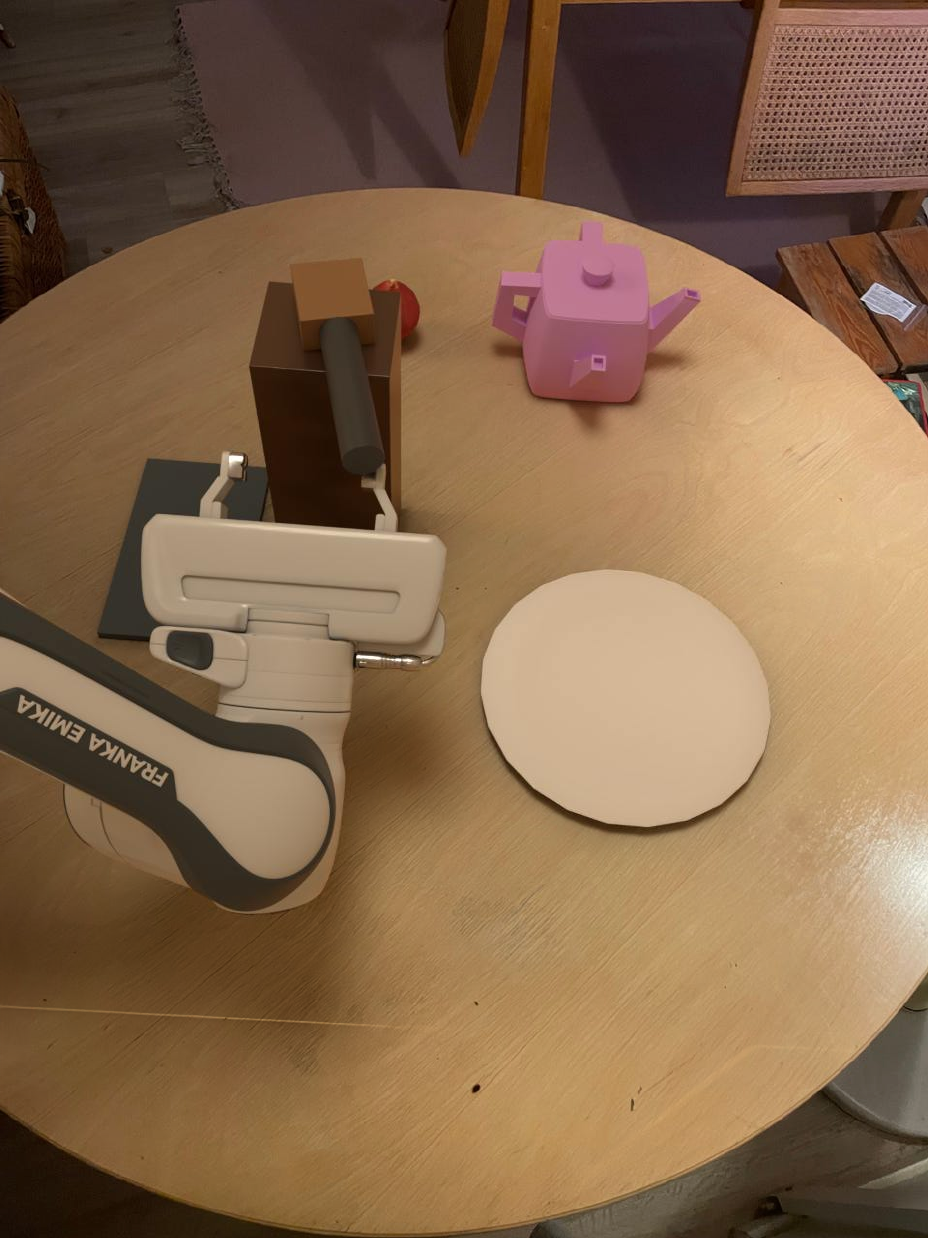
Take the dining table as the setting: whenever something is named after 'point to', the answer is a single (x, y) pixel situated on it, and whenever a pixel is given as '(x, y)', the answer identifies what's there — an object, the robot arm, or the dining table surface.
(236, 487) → the felt mat
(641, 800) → the plate
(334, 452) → the post
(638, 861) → the dining table surface
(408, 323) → the onion
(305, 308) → the brown block with handle
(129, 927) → the dining table surface
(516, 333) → the teakettle
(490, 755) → the dining table surface
